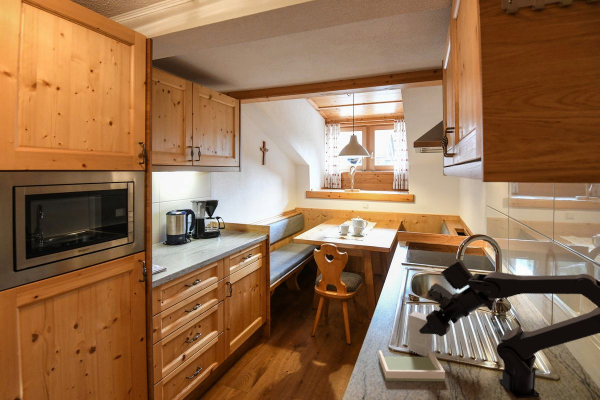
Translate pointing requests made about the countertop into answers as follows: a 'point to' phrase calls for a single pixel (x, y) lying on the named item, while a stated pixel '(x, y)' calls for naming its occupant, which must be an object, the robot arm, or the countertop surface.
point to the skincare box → (419, 335)
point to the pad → (412, 368)
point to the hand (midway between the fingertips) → (425, 326)
